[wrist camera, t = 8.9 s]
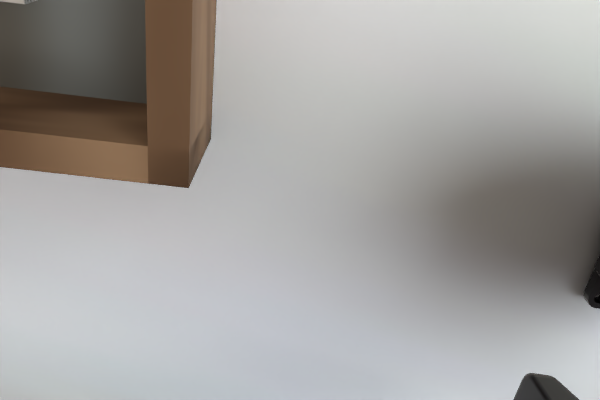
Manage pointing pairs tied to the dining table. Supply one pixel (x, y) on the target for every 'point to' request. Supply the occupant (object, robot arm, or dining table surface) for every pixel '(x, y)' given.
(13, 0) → the white stepped block
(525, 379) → the robot arm
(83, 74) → the arena
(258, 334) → the dining table surface
